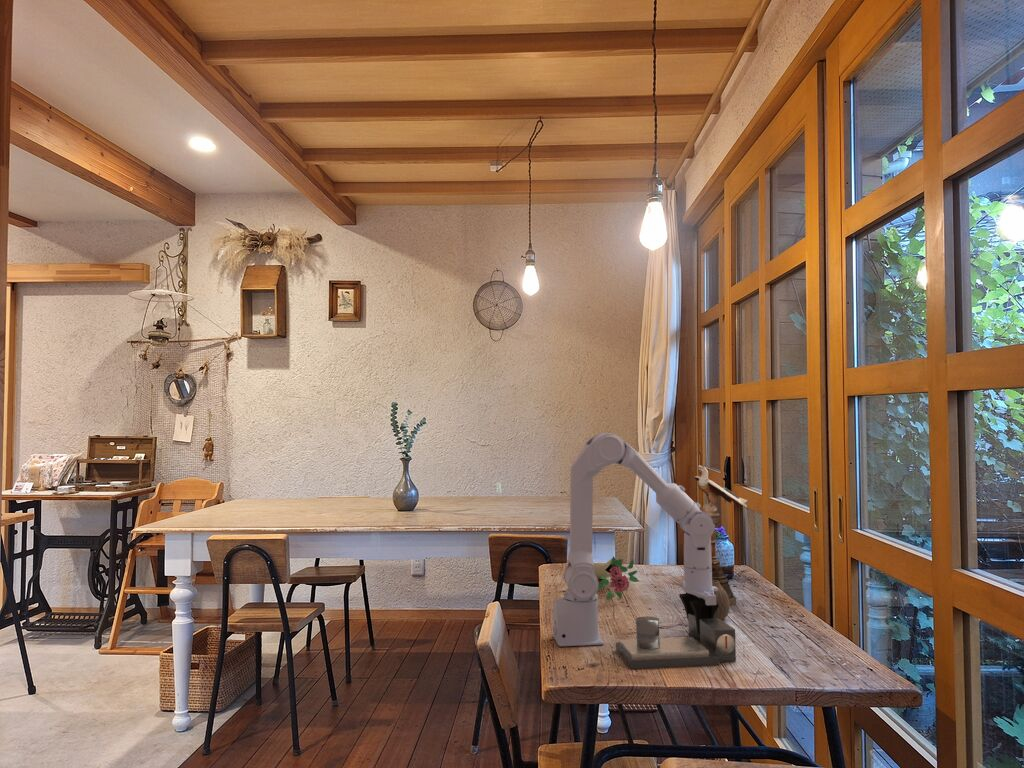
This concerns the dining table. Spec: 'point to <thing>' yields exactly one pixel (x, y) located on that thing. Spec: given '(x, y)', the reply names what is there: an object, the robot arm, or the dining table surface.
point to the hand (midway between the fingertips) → (699, 631)
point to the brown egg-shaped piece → (721, 601)
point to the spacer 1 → (647, 632)
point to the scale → (684, 648)
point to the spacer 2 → (692, 626)
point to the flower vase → (614, 576)
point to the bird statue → (710, 508)
